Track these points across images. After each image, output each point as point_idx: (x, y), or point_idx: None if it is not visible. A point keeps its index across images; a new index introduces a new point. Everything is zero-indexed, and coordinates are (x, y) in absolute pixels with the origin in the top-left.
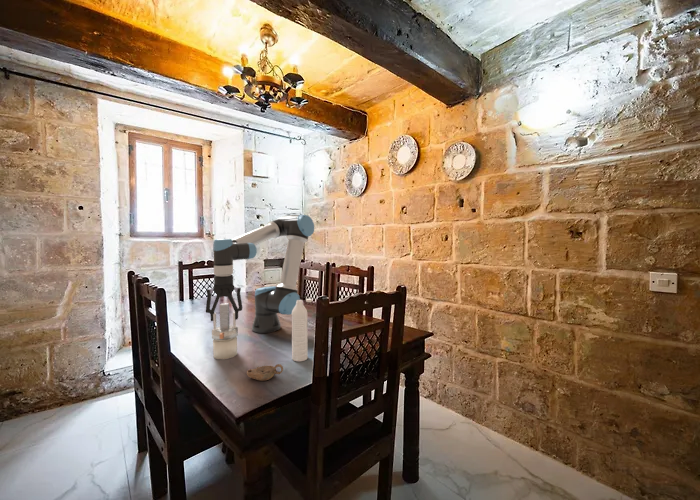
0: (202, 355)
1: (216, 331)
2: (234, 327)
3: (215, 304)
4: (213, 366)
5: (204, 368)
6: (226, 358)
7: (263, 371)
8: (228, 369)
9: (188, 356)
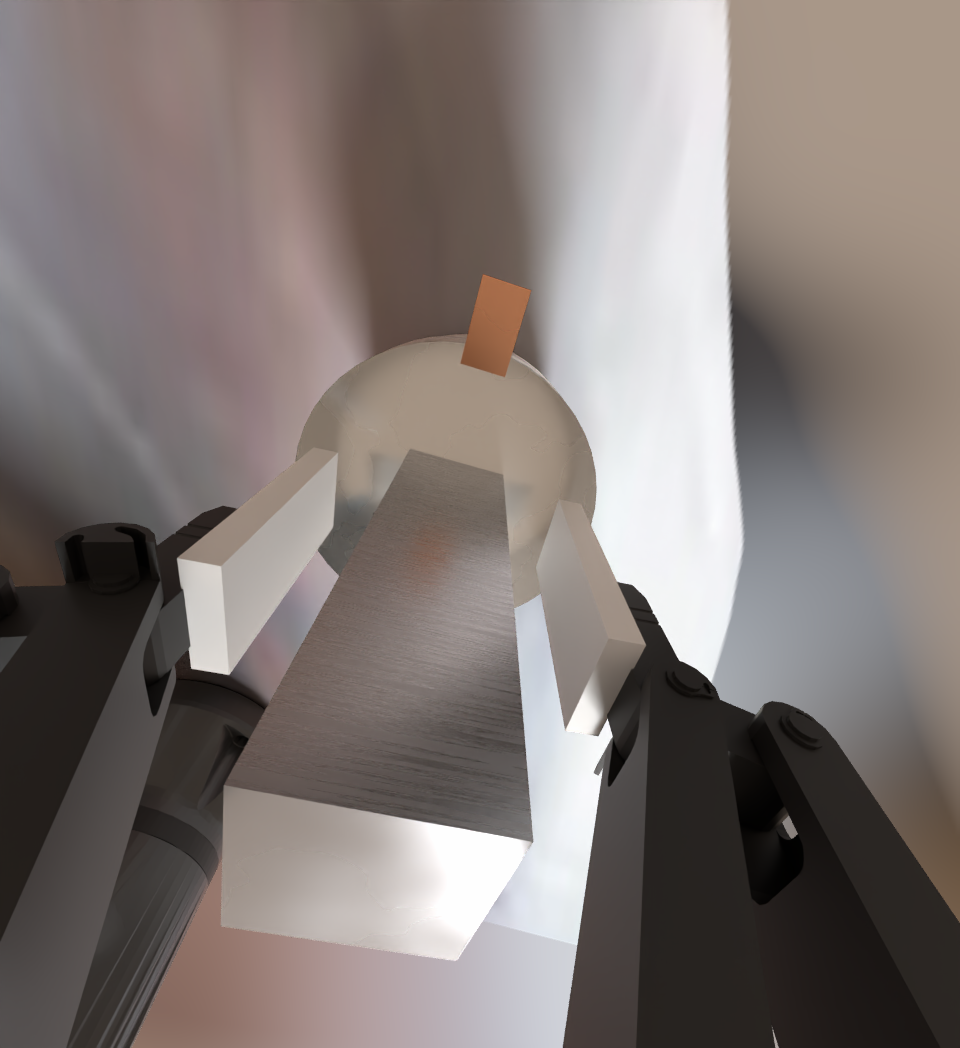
0: (607, 485)
1: (548, 463)
2: (321, 450)
3: (681, 915)
4: (572, 209)
5: (642, 200)
6: (462, 334)
7: None
8: (464, 46)
9: (689, 508)
